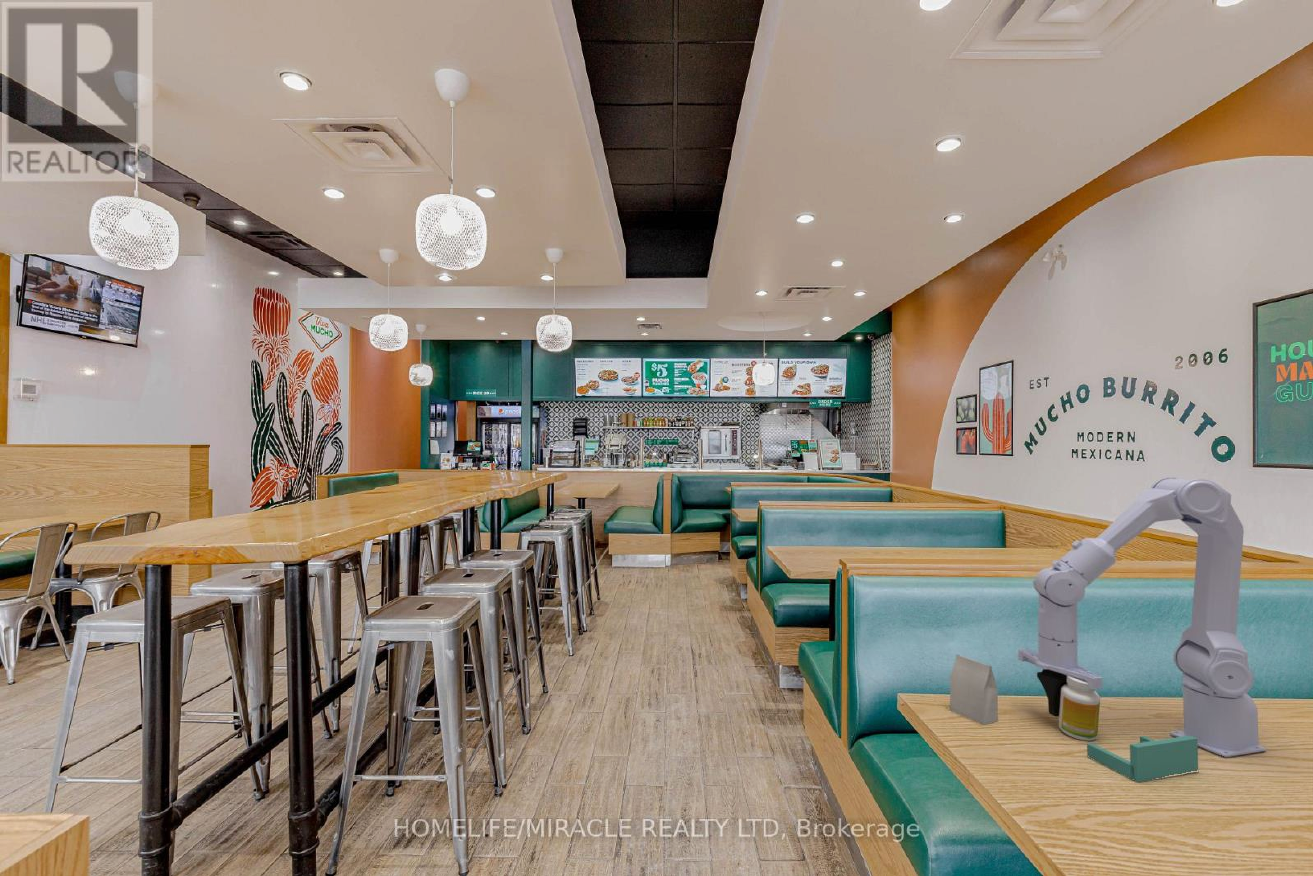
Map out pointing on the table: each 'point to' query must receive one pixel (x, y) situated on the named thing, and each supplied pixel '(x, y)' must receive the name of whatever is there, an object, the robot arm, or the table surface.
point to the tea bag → (973, 691)
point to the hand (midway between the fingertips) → (1057, 715)
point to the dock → (1151, 758)
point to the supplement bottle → (1079, 709)
